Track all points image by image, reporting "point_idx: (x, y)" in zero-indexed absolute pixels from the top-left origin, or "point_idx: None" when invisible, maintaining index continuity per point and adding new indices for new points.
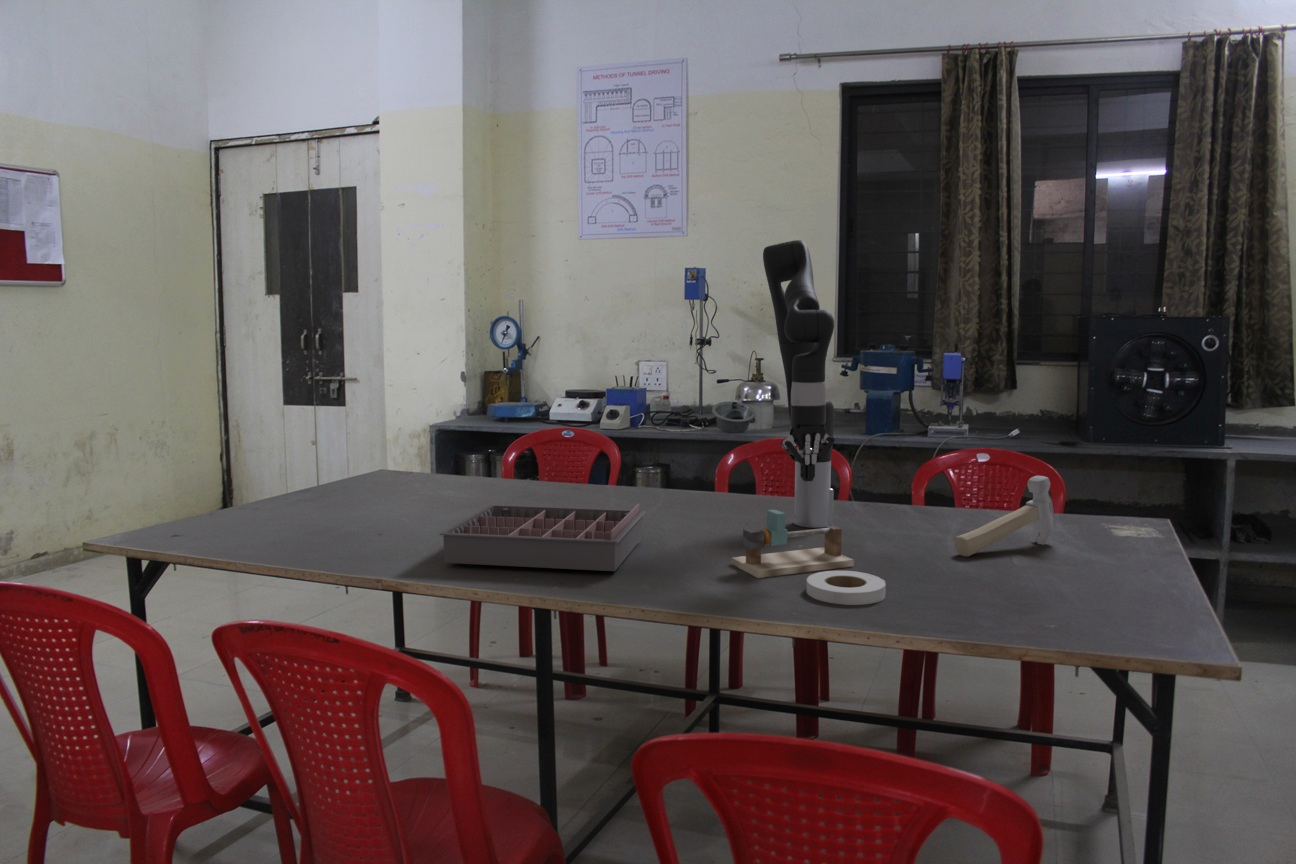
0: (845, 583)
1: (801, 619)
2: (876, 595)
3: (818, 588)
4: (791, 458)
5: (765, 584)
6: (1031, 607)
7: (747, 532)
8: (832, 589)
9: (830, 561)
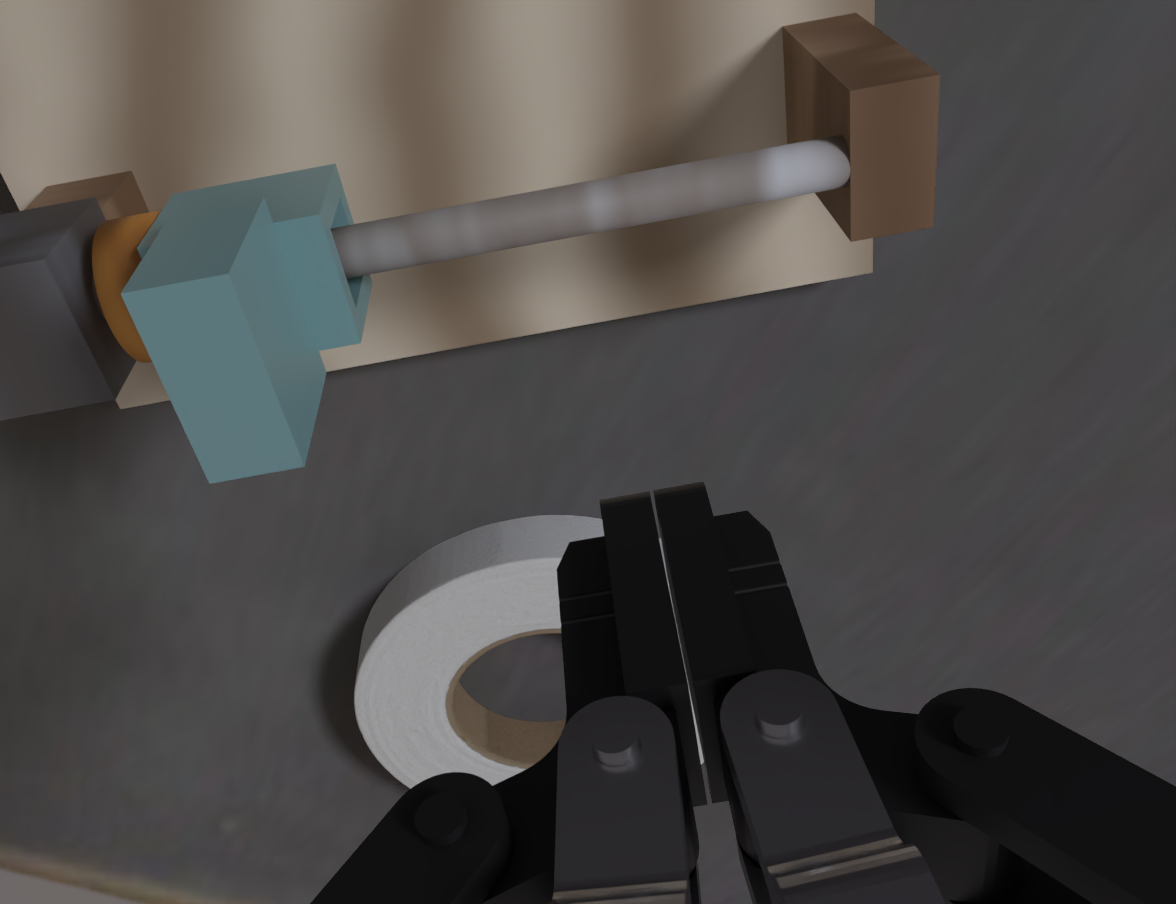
0: None
1: (242, 872)
2: None
3: (379, 761)
4: (364, 843)
5: (165, 496)
6: None
7: None
8: None
9: (693, 286)
